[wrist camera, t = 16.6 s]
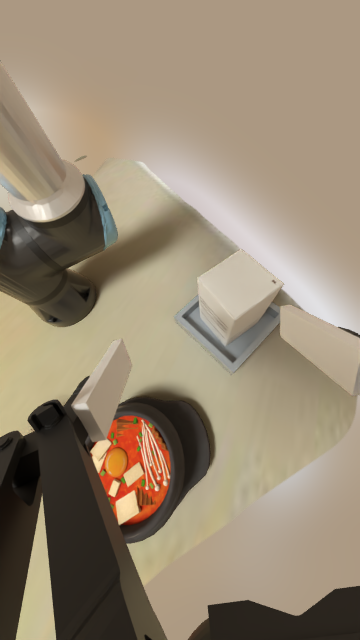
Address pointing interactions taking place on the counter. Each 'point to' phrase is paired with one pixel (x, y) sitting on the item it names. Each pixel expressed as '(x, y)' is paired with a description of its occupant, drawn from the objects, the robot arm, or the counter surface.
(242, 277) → the supplement box
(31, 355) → the counter surface
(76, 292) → the robot arm
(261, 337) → the tray
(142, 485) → the casserole
